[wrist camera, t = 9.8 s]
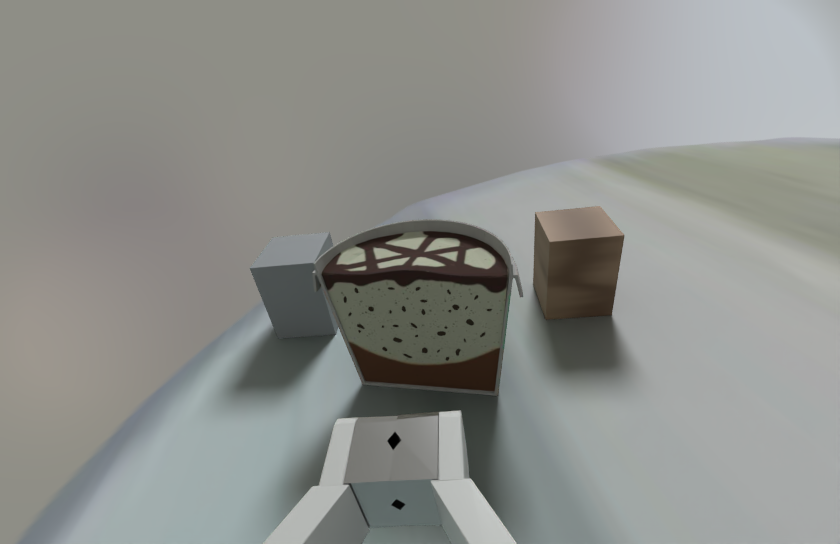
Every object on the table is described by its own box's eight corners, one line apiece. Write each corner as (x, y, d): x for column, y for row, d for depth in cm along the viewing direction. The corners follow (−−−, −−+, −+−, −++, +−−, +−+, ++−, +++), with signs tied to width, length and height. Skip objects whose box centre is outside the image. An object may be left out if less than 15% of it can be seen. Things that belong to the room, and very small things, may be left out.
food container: (522, 333, 31) (523, 213, 26) (521, 398, 26) (523, 264, 21) (369, 326, 34) (343, 217, 29) (343, 383, 29) (305, 263, 24)
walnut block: (591, 279, 36) (599, 206, 32) (611, 315, 32) (624, 235, 28) (533, 284, 36) (535, 212, 33) (545, 319, 32) (549, 241, 28)
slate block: (347, 299, 38) (329, 232, 34) (336, 334, 34) (314, 262, 30) (296, 303, 38) (272, 237, 35) (278, 338, 34) (249, 268, 30)
